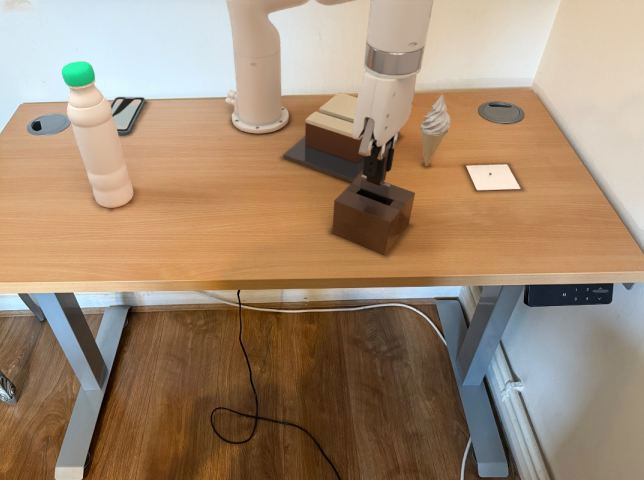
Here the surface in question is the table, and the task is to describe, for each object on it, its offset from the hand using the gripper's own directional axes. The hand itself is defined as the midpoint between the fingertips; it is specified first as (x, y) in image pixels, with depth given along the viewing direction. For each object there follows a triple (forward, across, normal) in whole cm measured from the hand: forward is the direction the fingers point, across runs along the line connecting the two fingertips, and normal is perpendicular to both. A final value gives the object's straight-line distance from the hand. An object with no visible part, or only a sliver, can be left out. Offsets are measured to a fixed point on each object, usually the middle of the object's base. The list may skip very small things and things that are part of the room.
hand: (376, 172), depth 83 cm
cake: (+11, -24, -17) cm, 31 cm away
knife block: (+11, 0, 0) cm, 11 cm away
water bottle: (+12, +18, -44) cm, 49 cm away
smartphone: (+12, -4, -64) cm, 66 cm away
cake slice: (+11, -16, -17) cm, 26 cm away
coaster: (+12, -26, +12) cm, 31 cm away
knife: (+11, 0, 0) cm, 11 cm away
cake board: (+12, -20, -17) cm, 28 cm away
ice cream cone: (+12, -23, 0) cm, 26 cm away
